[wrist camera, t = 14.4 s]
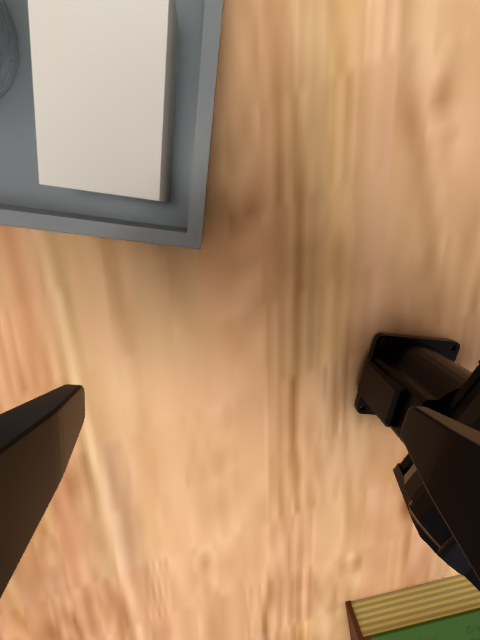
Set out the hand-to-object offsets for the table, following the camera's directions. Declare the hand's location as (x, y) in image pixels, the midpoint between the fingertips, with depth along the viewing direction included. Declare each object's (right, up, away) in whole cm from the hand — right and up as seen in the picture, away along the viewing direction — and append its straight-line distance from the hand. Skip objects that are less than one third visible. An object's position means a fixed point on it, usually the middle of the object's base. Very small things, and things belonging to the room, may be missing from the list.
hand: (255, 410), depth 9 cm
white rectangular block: (-6, +13, +8) cm, 16 cm away
